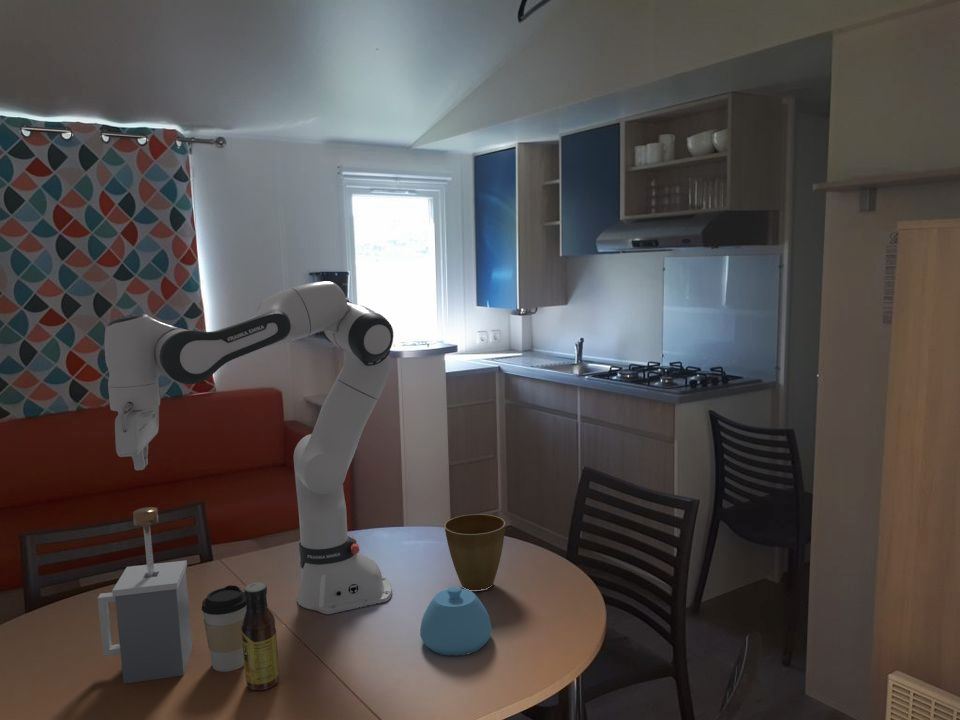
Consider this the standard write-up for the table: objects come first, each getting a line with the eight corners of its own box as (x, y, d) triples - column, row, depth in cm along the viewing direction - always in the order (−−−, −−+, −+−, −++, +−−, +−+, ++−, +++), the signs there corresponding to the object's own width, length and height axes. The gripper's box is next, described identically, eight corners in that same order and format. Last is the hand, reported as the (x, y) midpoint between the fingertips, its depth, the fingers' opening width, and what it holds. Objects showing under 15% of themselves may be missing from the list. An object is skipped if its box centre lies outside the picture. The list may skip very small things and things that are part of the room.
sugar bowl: (500, 628, 162) (499, 578, 160) (478, 664, 148) (476, 609, 146) (436, 620, 166) (434, 570, 165) (409, 653, 152) (406, 600, 151)
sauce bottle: (250, 675, 146) (242, 579, 143) (282, 673, 146) (275, 577, 144) (242, 694, 139) (234, 594, 137) (276, 692, 140) (269, 591, 137)
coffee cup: (239, 676, 146) (233, 603, 144) (197, 672, 148) (191, 601, 146) (261, 652, 154) (256, 583, 153) (221, 649, 156) (216, 581, 154)
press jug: (194, 646, 158) (186, 560, 155) (185, 675, 147) (176, 583, 144) (114, 657, 154) (105, 569, 152) (98, 688, 143) (88, 593, 141)
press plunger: (168, 607, 152) (159, 506, 149) (164, 617, 148) (154, 513, 145) (145, 610, 151) (135, 508, 148) (140, 620, 147) (130, 515, 144)
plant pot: (518, 580, 186) (516, 518, 184) (486, 604, 173) (484, 538, 171) (468, 569, 194) (466, 509, 192) (434, 591, 181) (432, 527, 179)
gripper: (140, 407, 135) (147, 481, 136) (162, 389, 154) (168, 454, 156) (102, 409, 133) (110, 484, 135) (129, 391, 153) (135, 456, 155)
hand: (141, 468), depth 146 cm, fingers closed
